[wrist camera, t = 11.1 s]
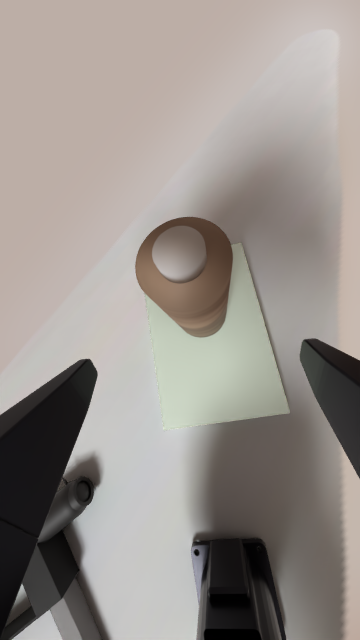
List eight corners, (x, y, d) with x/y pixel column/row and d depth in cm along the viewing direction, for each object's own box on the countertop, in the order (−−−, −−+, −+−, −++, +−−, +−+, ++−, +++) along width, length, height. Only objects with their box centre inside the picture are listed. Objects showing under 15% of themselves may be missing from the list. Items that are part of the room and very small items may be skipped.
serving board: (286, 410, 19) (290, 413, 18) (166, 426, 21) (163, 430, 20) (240, 248, 23) (241, 242, 22) (144, 272, 25) (141, 268, 24)
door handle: (162, 667, 15) (61, 474, 19) (-35, 824, 16) (-98, 604, 19) (170, 612, 19) (82, 456, 22) (7, 742, 19) (-54, 568, 22)
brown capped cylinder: (217, 343, 20) (215, 315, 8) (171, 329, 22) (111, 286, 10) (231, 297, 21) (248, 210, 9) (186, 285, 22) (148, 196, 10)
